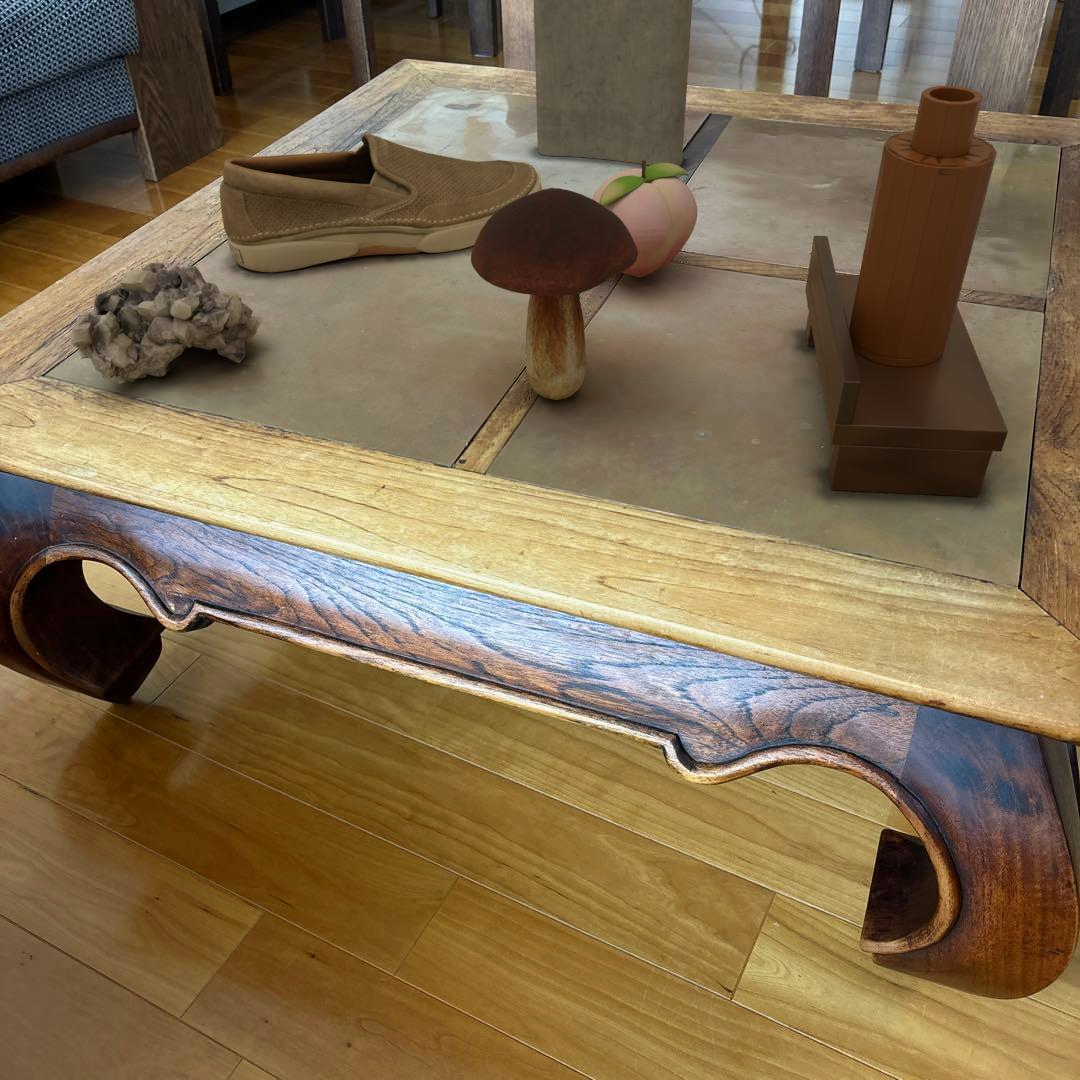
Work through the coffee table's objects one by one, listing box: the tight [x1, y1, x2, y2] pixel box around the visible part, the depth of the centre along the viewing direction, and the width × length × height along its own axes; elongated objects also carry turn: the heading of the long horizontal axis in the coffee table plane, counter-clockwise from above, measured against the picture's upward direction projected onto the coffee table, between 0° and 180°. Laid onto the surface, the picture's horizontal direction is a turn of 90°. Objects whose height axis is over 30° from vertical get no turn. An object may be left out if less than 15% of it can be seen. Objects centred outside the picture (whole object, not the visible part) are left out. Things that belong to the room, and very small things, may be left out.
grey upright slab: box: [533, 0, 693, 167], centre depth 103 cm, size 16×4×20 cm, turn 70°
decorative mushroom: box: [470, 187, 638, 401], centre depth 69 cm, size 11×11×15 cm
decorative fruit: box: [591, 160, 698, 278], centre depth 85 cm, size 9×8×10 cm
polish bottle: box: [849, 85, 998, 367], centre depth 63 cm, size 6×6×16 cm
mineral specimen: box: [69, 261, 263, 384], centre depth 76 cm, size 12×9×10 cm
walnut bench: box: [804, 235, 1009, 498], centre depth 69 cm, size 10×20×8 cm, turn 174°
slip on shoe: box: [219, 133, 543, 273], centre depth 93 cm, size 30×11×9 cm, turn 106°
